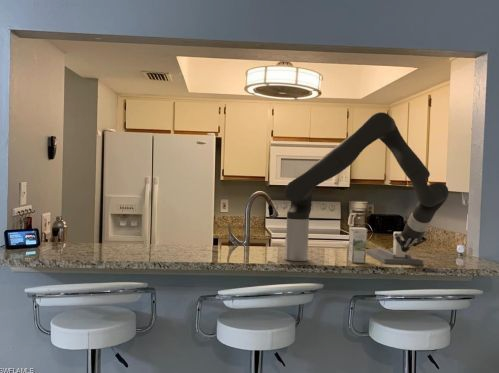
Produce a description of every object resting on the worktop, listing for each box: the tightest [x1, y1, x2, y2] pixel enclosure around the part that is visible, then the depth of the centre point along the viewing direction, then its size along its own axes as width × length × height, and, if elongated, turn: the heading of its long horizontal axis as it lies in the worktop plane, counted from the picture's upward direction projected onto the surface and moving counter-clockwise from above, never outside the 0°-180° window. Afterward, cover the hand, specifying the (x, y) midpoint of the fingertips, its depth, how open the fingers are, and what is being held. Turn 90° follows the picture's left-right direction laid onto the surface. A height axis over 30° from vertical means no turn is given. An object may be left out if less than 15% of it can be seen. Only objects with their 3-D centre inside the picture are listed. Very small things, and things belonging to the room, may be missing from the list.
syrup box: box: [347, 226, 368, 264], centre depth 170 cm, size 6×6×14 cm
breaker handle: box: [392, 231, 406, 257], centre depth 173 cm, size 4×3×11 cm
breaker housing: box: [366, 246, 424, 266], centre depth 180 cm, size 16×24×4 cm, turn 2°
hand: (403, 250), depth 169 cm, fingers closed
